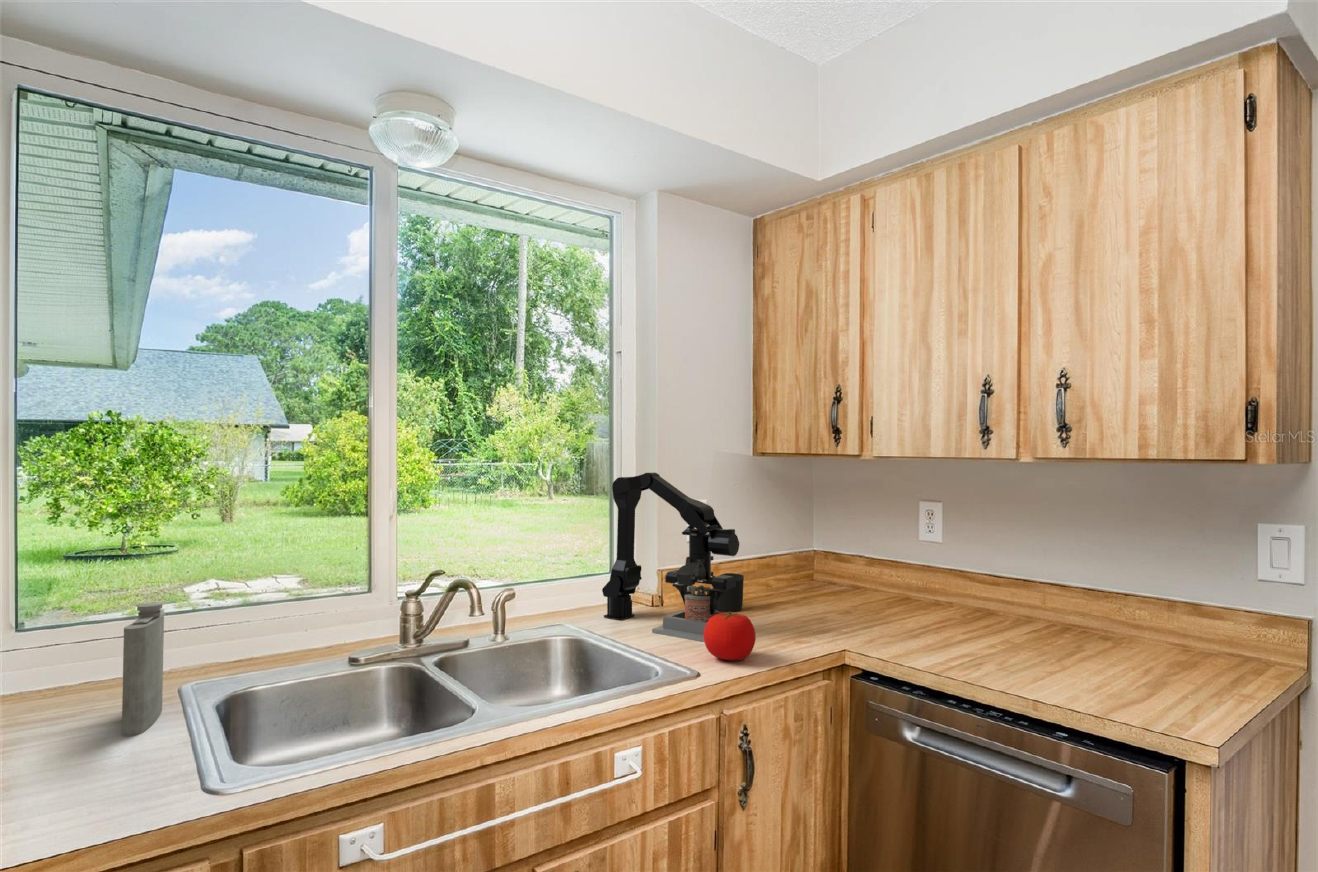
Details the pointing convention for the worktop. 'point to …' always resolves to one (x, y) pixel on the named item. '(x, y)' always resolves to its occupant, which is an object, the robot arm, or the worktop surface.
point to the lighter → (698, 604)
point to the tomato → (729, 636)
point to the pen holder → (732, 596)
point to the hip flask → (143, 670)
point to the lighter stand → (682, 626)
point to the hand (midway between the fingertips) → (699, 612)
